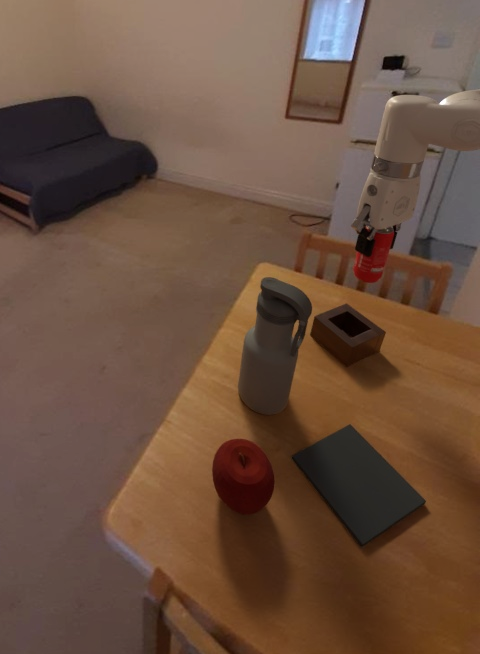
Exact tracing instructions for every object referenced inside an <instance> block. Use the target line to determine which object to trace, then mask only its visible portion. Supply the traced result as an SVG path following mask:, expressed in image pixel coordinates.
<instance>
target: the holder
mask: <svg viewBox="0 0 480 654" xmlns="http://www.w3.org/2000/svg"><path fill="white" fill-rule="evenodd" d="M386 334H387V332H386V331H385V330H384V329H383V328H381V327H380V326H378V325H377V324H376V323H374V322H373V321H372V320H370V319H369V318H367V317H366V316H365V315H364V314H362V313H361V312H359V311H358V310H356V309H355V308H354V307H352V306H351V305H349V303H346V302H345V303H343V304H341V305H338V306H336V307H333V308H331V309H328V310H326V311H323V312H322V313H319V314H316V315H314V317H313V321H312V325H311V330H310V334H309V335H310V337H312V338H313V340H315V341H316V342H317V343H318V344H319V345H321V346H322V347H323V348H324V349H325V350H326V351H327V352H328V353H330V354H331V355H332V356H333V357H334V358H335V359H337V360H338V361H339V362H340V363H341V364H342V365H343V366H344V367H345V368H348V367H350V366H352V365H354V364H357V363H358V362H360V361H363V360H365V359H367V358H369V357H371V356H374V355H376V354H377V353H380V351H381V348H382V346H383V344H384V343H383V342H384V339H385V337H386Z"/></svg>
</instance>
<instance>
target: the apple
mask: <svg viewBox="0 0 480 654" xmlns="http://www.w3.org/2000/svg"><path fill="white" fill-rule="evenodd" d="M211 474H212V482H213V486H214V489H215V492H216V494H217V496H218V498H219V499H220V500H221V502H222V503H223V504H224V505H225V506H226V507H227V508H228V509H230V510H231V511H232V512H234V513H237V514H239V515H243V516H251V515H255V514H257V513H259V512H260V511H262V510H263V509H264V508H266V506H267V505H268V503H269V502H270V501H271V499H272V497H273V494H274V492H275V484H276V477H275V471H274V468H273V465H272V463H271V460H270V459H269V457H268V455H267V454H266V452H265V451H264V450H263V448H262V447H260V446H259V445H258V444H256V443H255V442H254V441H251V440H249V439H246V438H232V439H229V440H226V441H225V442H223V443H222V444H221V445H220V446H219V447H218V448H217V450H216V452H215V454H214V457H213V459H212V467H211Z"/></svg>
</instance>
